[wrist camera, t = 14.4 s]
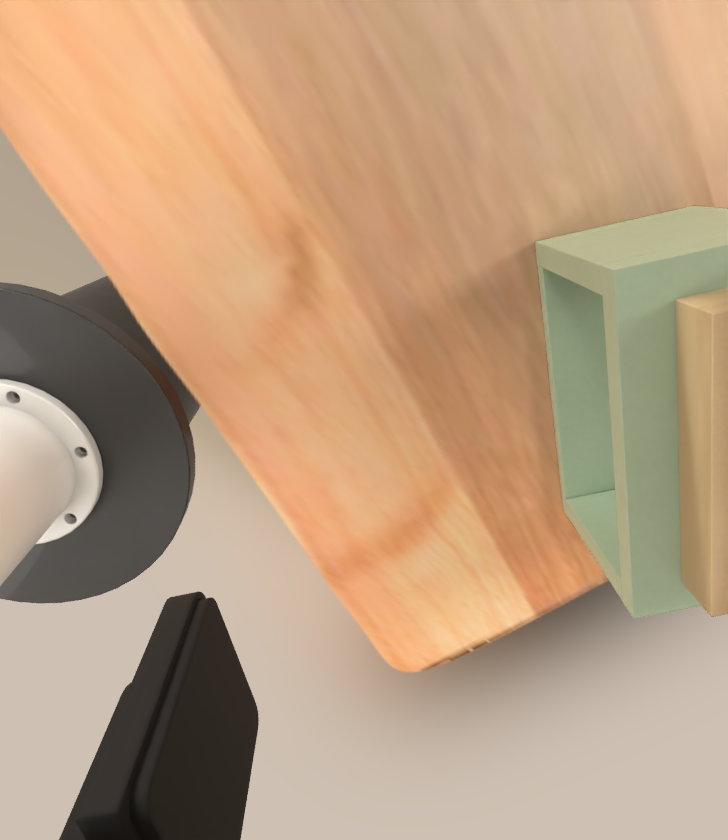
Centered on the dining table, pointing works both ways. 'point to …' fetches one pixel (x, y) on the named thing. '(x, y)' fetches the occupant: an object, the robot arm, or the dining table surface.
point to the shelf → (626, 387)
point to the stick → (703, 446)
